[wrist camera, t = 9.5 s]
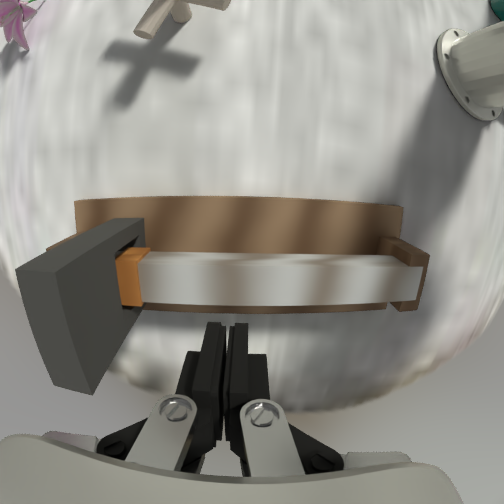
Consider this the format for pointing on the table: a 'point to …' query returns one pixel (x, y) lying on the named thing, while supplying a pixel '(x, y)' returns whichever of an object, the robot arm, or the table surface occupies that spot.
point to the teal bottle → (498, 8)
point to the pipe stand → (261, 254)
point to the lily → (15, 19)
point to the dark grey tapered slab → (80, 303)
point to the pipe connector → (179, 8)
